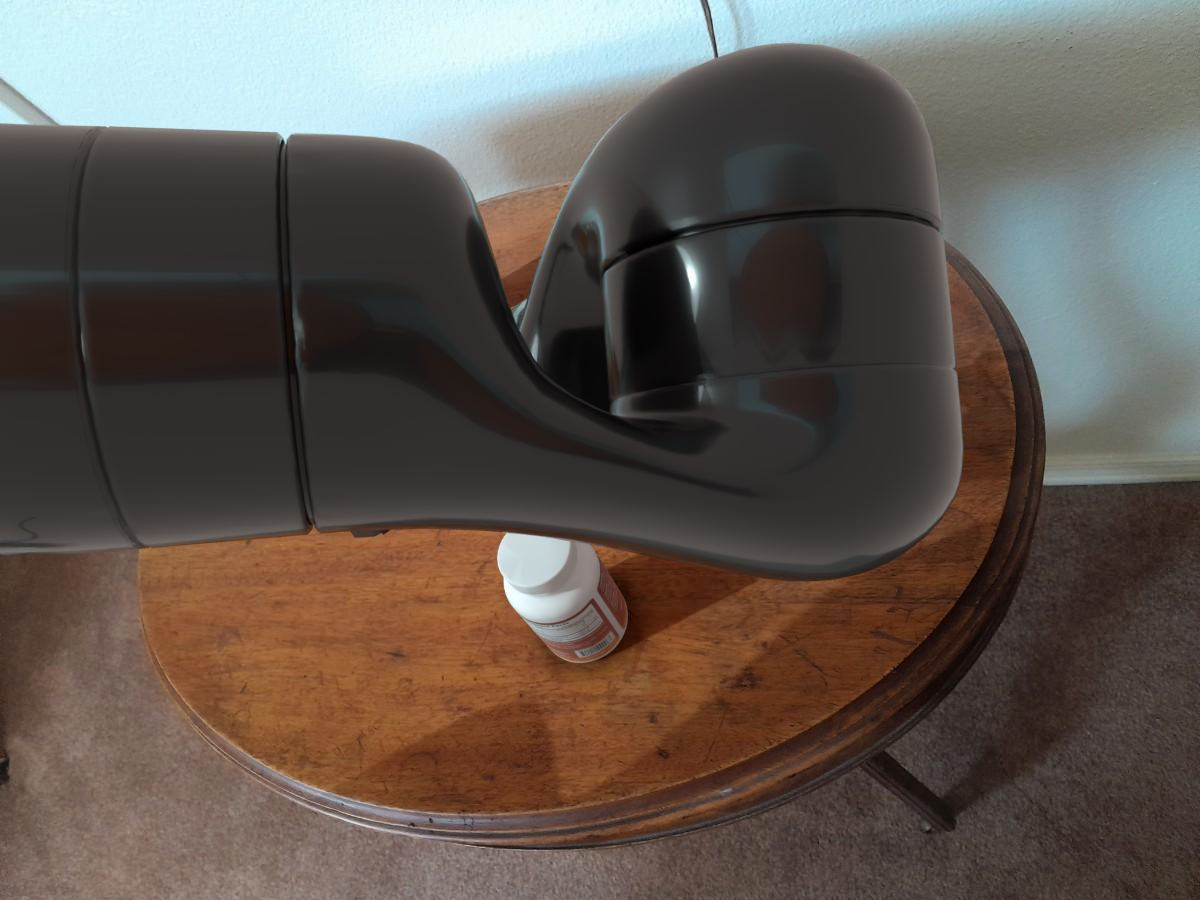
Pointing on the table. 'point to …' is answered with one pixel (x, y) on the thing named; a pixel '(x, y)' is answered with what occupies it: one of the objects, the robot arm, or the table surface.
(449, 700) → the table surface
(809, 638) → the table surface
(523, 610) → the pill bottle
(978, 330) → the table surface
